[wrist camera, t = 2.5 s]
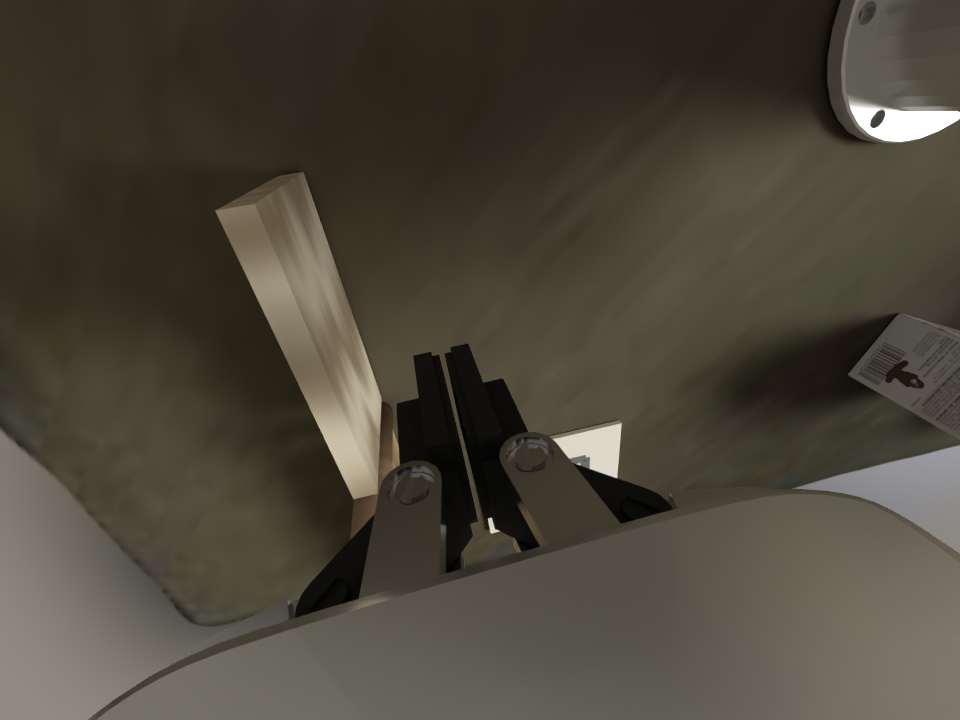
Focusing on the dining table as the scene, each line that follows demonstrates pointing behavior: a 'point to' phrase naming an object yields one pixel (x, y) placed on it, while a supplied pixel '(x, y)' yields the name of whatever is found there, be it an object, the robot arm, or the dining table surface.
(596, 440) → the card
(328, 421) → the pale wooden plank
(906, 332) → the coffee box
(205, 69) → the dining table surface
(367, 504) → the wooden hinged panel
